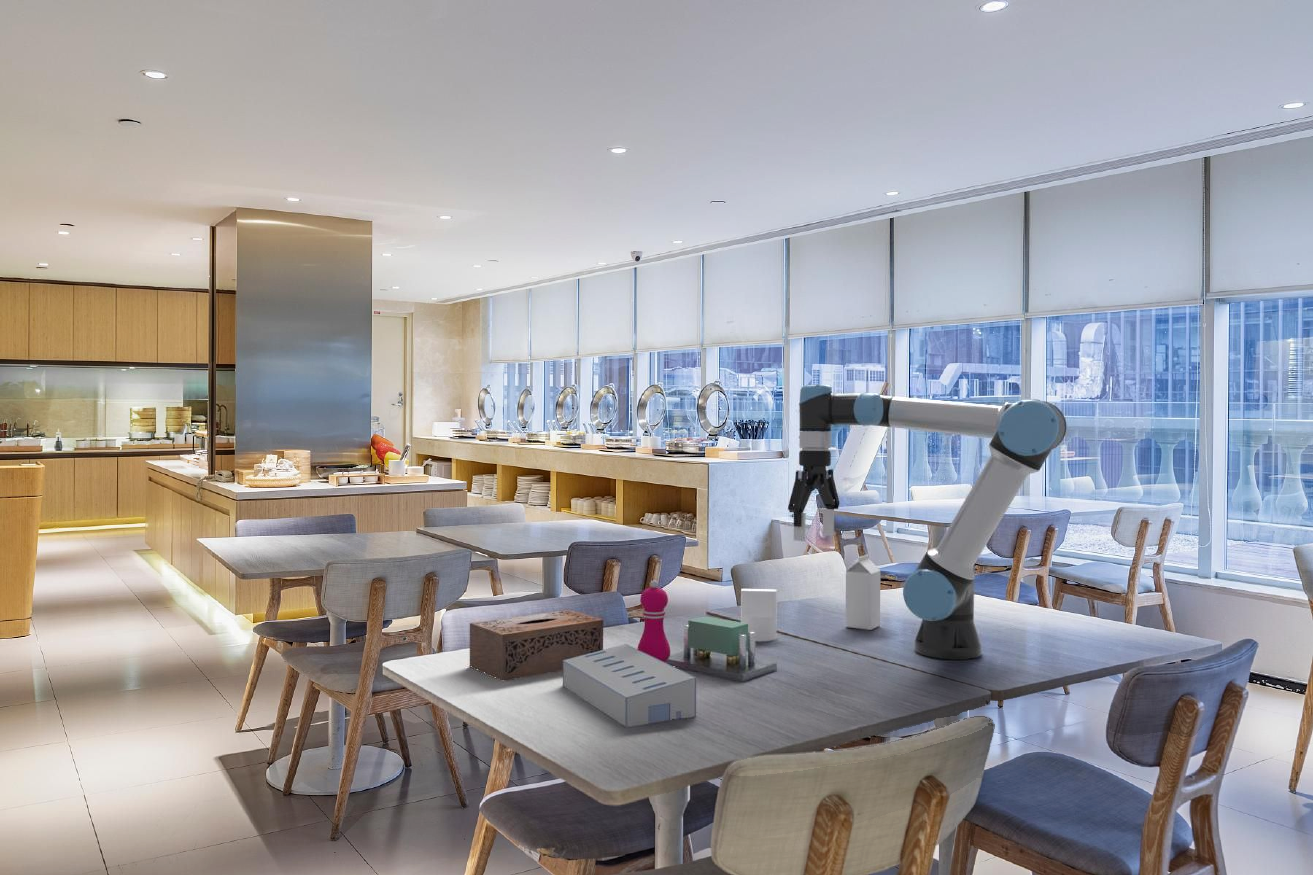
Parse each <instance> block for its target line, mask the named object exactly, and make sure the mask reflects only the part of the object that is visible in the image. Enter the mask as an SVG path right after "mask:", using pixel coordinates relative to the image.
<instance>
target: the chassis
mask: <svg viewBox="0 0 1313 875" xmlns="http://www.w3.org/2000/svg"><path fill="white" fill-rule="evenodd" d="M755 636H756V632H748V651H746V635H744V634H740V635H739V654H736V655H733V656H731V655H726V654H721V653H716V652H710V651H705V650H700V649H695V648H690V647H688V624H684V625H683V651H681V652H677V653H674V654H670V657H669V658H668V659H667V661H666V662H665V663H667V664H669V665H671V666H675V668H676V667H678V668H677V669H680V670H686V669H687V671H692V672H697V673H700V672H701V674H705V675H711V676H715V677H720V678H723V677H724V678H723V679H728V680H734V681H738V682H743V683H744V682H746V681H749V680H751V679H754V678H758V677H761V676H763V675H766V674H768V673H772V672H775V671H777V670H778V669H777V668H778V663H777V662H772V661H768V660H763V659H758V658H756V641H755Z"/></svg>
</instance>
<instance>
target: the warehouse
mask: <svg viewBox="0 0 1313 875" xmlns="http://www.w3.org/2000/svg"><path fill="white" fill-rule="evenodd" d="M562 686H563V687H564V686H565V688H566V689H567V688H568V689H567V690H568V691H571V692H572V691H573V692H574V694H575V693H576V694H575V695H577V696H578V697H580V696H581V697H582V699H583V700H584V699H585V700H584V701H586V702H587V701H588V702H587V703H588V704H590V705H592V706H593V707H595V708H596V707H597V708H596V709H598V710H600V711H601V712H602V711H603V713H604V714H606V715H607V716H609V717H610V718H611V719H613V720H615V721H617V722H618V723H619V724H621V725H622V726H624V727H625V728H629V727H636V726H642V725H649V724H653V723H659V721H660V722H664V721H663V720H667V721H673V720H672V719H675V720H678V719H677V718H682V719H687V718H694V717H693V716H695V717H697V677H696V676H694V675H692V674H689V673H688V672H686V671H684V670H682V669H680V668H676V667H673V666H671V665H669V664H667V663H665V662H663V661H660V660H658V659H656V658H654V657H652V656H650V655H648V654H646V653H644V652H642V651H640V650H637V648H636V647H633V646H631V645H629V644H627V643H625V644H621V645H616V646H614V647H613V646H612V647H608V648H606V649H603V650H601V651H597V652H593V653H589V654H586V655H582V656H578V657H574V658H570V659H566V660H563V670H562ZM573 692H572V693H573ZM581 697H580V698H581Z"/></svg>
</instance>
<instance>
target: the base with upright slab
mask: <svg viewBox="0 0 1313 875" xmlns="http://www.w3.org/2000/svg"><path fill="white" fill-rule="evenodd" d="M777 602H778V590H777V589H776V588H775V589H771V588H741V590H740V622H741V623H747V624H748V632H756V636H755V642H771V641H775V640H776V639H777V629H778V628H777V627H778V626H777V624H778V623H777V621H778V620H777V618H778V617H777V616H778V614H777V612H778V611H777V609H778V608H777V606H778V605H777V604H778V603H777Z"/></svg>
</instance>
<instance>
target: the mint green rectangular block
mask: <svg viewBox="0 0 1313 875" xmlns="http://www.w3.org/2000/svg"><path fill="white" fill-rule="evenodd" d="M687 625H688V647H690V648H691V649H693V648H695V649H700V650H705V651H710V652H716V653H721V654H726V655H731V656H733V655H736V654H739V635H740V634H744V635H746V652H748V624H747V623H741V621H734V620H728V619H722V618H716V617H710V616H706V615H705V616H701V617H695V618H692V619H688V621H687Z"/></svg>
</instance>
